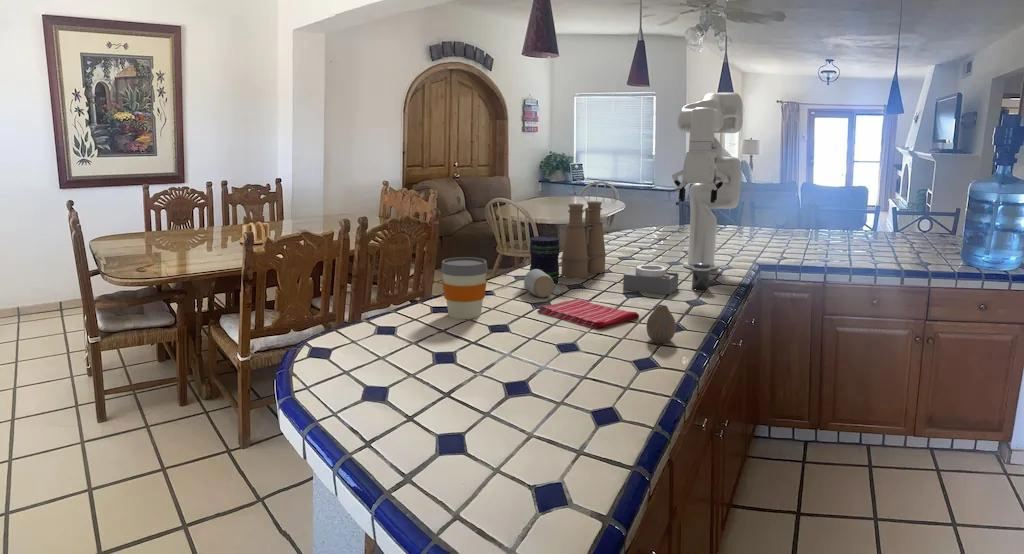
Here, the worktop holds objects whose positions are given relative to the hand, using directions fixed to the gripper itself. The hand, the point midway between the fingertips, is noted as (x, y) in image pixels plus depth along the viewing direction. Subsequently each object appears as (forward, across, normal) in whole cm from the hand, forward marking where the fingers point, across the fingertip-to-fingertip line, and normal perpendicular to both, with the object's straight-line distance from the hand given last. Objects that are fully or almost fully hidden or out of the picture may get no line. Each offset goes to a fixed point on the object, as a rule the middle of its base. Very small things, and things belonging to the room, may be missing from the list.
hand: (697, 201), depth 218 cm
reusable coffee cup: (+31, +46, +67) cm, 86 cm away
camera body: (+28, +10, +11) cm, 32 cm away
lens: (+28, -4, +3) cm, 28 cm away
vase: (+31, -8, +63) cm, 71 cm away
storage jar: (+28, +44, +20) cm, 56 cm away
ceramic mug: (+29, +37, +36) cm, 59 cm away
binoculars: (+27, +39, 0) cm, 47 cm away
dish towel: (+31, +16, +50) cm, 61 cm away
